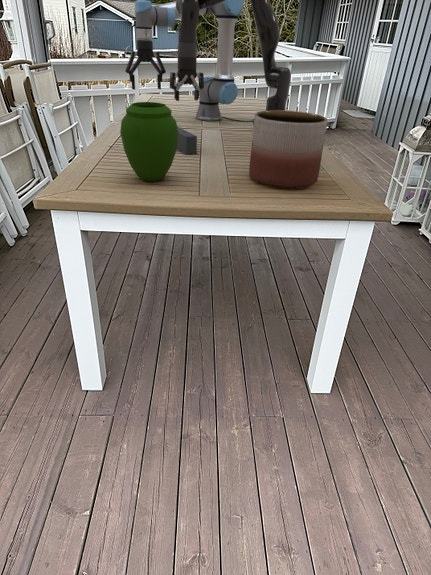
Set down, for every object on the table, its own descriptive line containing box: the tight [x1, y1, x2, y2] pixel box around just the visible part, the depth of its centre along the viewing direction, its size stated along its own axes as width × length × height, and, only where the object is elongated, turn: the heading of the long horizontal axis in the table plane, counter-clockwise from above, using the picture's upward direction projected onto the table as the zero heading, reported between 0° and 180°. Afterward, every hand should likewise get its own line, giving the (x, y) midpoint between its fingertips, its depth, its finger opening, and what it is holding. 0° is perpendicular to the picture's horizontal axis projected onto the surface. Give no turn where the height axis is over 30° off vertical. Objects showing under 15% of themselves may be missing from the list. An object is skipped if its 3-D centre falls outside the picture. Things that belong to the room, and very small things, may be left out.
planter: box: [248, 109, 329, 190], centre depth 146 cm, size 25×25×22 cm
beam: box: [176, 126, 198, 156], centre depth 196 cm, size 56×5×7 cm, turn 28°
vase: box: [119, 101, 179, 182], centre depth 140 cm, size 20×20×24 cm
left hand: (146, 89), depth 206 cm, fingers open, 13 cm apart
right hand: (186, 100), depth 170 cm, fingers open, 8 cm apart
